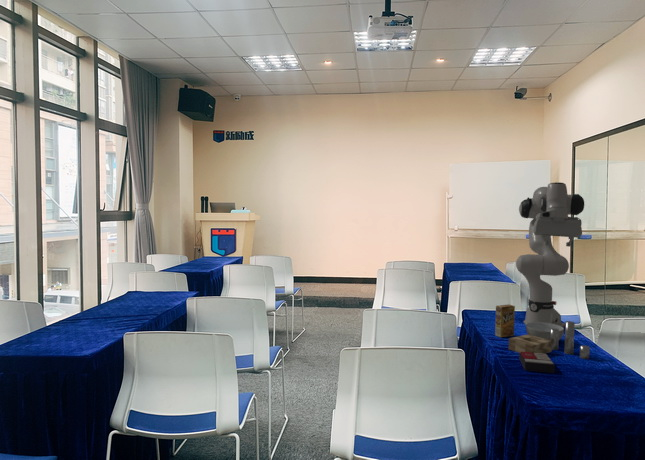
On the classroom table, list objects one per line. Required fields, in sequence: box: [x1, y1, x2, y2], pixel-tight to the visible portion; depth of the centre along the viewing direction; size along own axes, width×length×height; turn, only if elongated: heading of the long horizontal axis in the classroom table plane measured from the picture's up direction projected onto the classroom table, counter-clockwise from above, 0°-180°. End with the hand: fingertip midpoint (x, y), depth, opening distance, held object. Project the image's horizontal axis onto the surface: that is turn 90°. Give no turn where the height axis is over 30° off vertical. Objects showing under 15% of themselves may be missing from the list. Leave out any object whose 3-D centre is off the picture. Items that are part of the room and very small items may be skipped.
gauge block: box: [507, 333, 553, 354], centre depth 210 cm, size 14×12×5 cm
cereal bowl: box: [525, 322, 565, 340], centre depth 225 cm, size 17×17×7 cm
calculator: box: [518, 352, 556, 374], centre depth 191 cm, size 11×4×15 cm
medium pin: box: [550, 328, 560, 351], centre depth 213 cm, size 4×4×9 cm
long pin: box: [563, 320, 576, 355], centre depth 207 cm, size 4×4×14 cm
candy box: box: [494, 304, 516, 338], centre depth 233 cm, size 9×4×15 cm, turn 113°
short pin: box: [579, 344, 591, 360], centre depth 201 cm, size 4×4×5 cm
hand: (557, 245), depth 210 cm, fingers open, 8 cm apart
